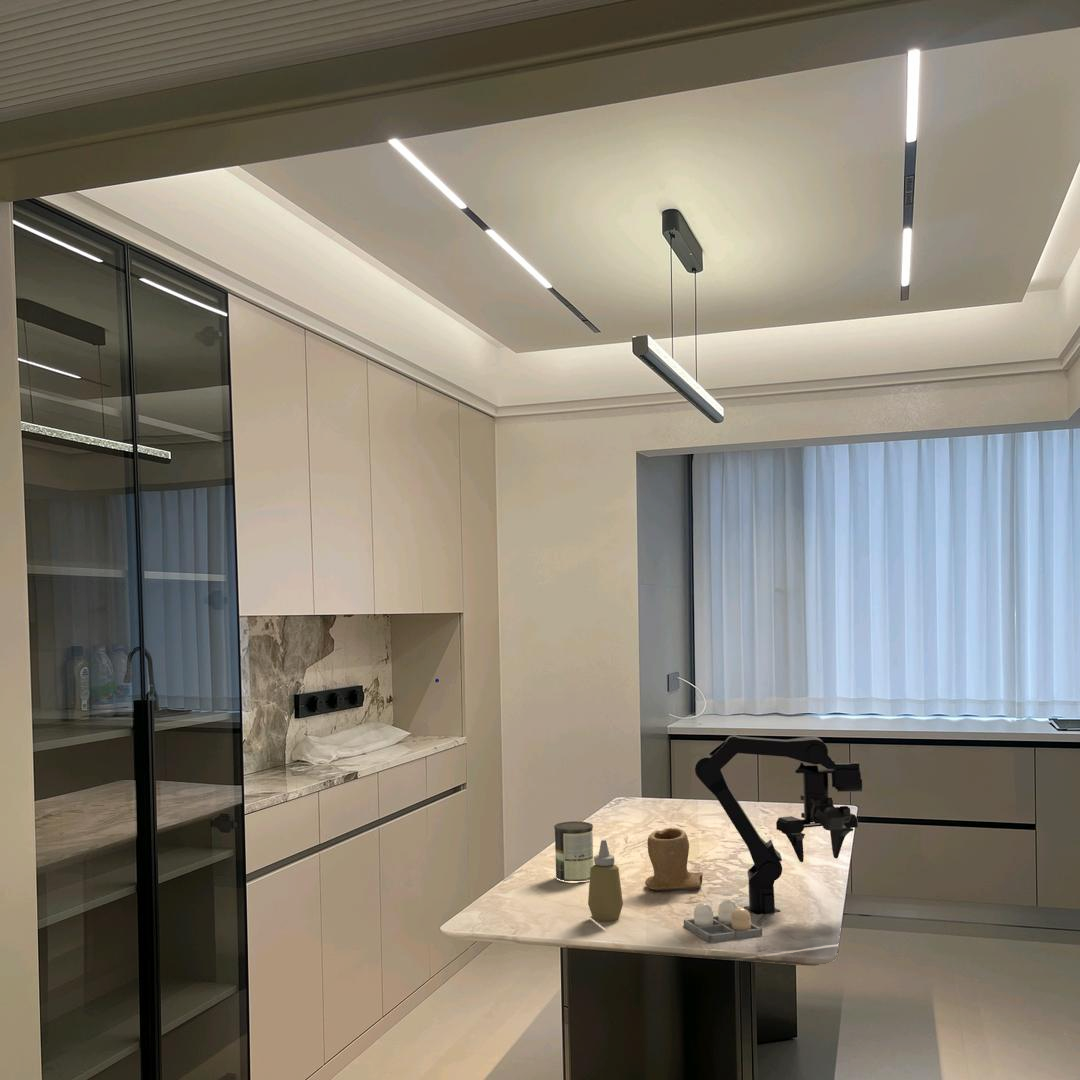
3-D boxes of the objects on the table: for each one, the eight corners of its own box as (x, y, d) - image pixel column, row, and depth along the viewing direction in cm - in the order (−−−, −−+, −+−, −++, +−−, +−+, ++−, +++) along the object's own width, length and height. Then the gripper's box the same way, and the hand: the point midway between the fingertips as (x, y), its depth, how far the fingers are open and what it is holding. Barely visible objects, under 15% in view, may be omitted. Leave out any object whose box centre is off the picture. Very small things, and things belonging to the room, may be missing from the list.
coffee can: (548, 880, 282) (546, 826, 283) (569, 872, 290) (568, 819, 291) (580, 885, 276) (579, 830, 277) (601, 877, 285) (600, 823, 286)
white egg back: (691, 926, 237) (690, 902, 237) (708, 924, 238) (707, 900, 238) (699, 932, 233) (698, 907, 233) (716, 929, 234) (715, 905, 234)
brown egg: (728, 931, 233) (727, 906, 233) (745, 929, 234) (744, 904, 235) (737, 936, 229) (736, 911, 229) (755, 934, 230) (754, 909, 231)
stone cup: (647, 896, 265) (645, 834, 266) (644, 883, 277) (642, 825, 278) (708, 895, 264) (706, 833, 265) (702, 882, 276) (700, 824, 277)
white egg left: (715, 923, 239) (714, 899, 239) (732, 921, 240) (731, 897, 240) (724, 928, 235) (723, 904, 235) (741, 926, 236) (740, 902, 236)
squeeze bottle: (607, 912, 251) (605, 835, 252) (630, 920, 245) (628, 840, 246) (581, 919, 246) (579, 840, 247) (604, 927, 240) (602, 846, 241)
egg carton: (683, 928, 238) (683, 919, 238) (734, 921, 241) (734, 913, 242) (709, 944, 226) (709, 935, 226) (762, 937, 229) (762, 929, 230)
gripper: (799, 800, 238) (802, 871, 237) (870, 794, 244) (873, 863, 243) (773, 793, 249) (776, 861, 248) (842, 787, 254) (845, 853, 253)
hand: (818, 860), depth 248 cm, fingers open, 9 cm apart
